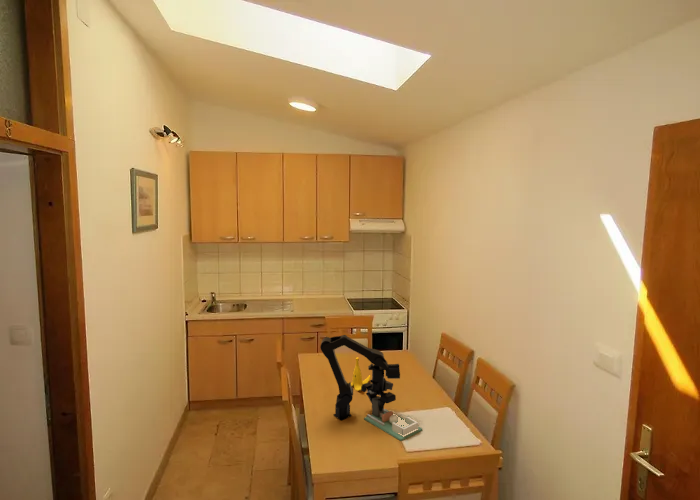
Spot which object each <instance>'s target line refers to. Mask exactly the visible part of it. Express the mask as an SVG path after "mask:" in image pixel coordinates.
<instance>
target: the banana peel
mask: <svg viewBox="0 0 700 500" xmlns="http://www.w3.org/2000/svg"><path fill="white" fill-rule="evenodd" d="M359 359H360V357H355V366H354V369H353V373H352V379H351V380H352V381H351V387H352V388H353V390H355V391H357V392H359V391H361V386H362V385H363V384H365V383H368V382H370V380H371V378H372V375H370V374H369V375H368V376H367V377H366V378H365V379H363V376H362V372H361V368H360V365H359V362H360V361H359ZM346 382H347V383H349V382H348V381H346Z"/></svg>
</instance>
